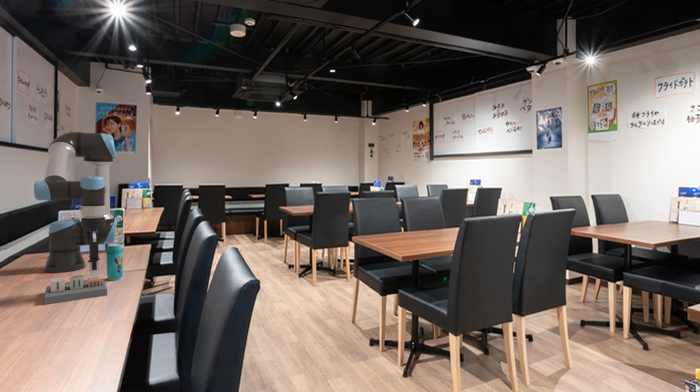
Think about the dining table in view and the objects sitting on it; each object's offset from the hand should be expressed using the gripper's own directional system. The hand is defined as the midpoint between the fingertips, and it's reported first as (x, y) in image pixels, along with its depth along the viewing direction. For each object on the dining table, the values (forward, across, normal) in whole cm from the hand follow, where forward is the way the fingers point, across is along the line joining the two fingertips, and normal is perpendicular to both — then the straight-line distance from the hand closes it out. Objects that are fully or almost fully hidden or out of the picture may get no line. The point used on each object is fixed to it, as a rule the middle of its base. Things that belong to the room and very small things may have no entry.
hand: (94, 277), depth 141 cm
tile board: (+5, 0, -6) cm, 8 cm away
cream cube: (+3, 0, -11) cm, 11 cm away
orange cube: (+4, 0, 0) cm, 4 cm away
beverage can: (+6, -16, +8) cm, 18 cm away
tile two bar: (+3, 0, -6) cm, 6 cm away
